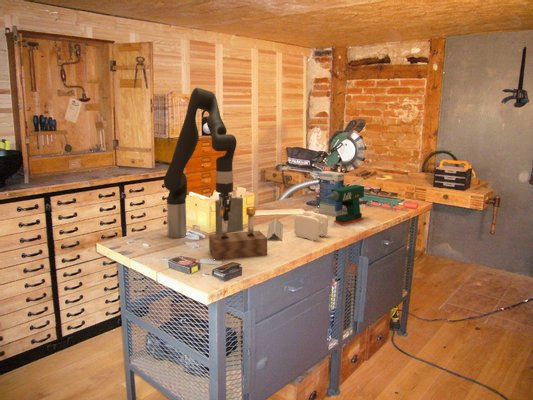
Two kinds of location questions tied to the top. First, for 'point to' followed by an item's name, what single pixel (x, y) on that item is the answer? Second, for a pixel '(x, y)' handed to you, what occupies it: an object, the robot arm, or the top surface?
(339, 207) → the string lights box
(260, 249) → the block
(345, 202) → the power tool
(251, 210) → the far plunger
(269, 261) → the top surface
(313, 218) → the beige rounded block
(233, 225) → the hip flask
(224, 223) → the near plunger
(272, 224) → the corner bead
